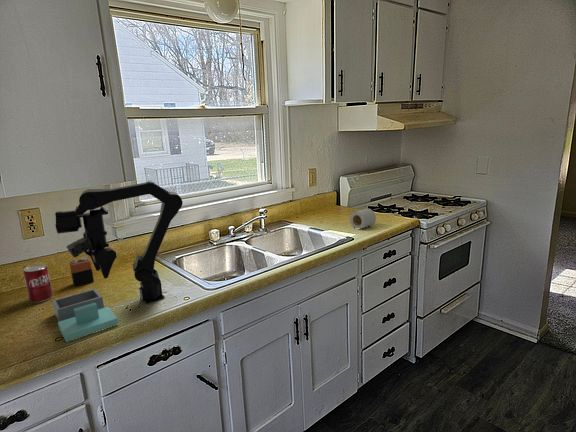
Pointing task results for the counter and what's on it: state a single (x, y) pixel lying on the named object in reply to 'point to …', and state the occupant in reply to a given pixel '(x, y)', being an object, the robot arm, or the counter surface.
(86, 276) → the battery
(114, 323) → the lid
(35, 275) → the soda can
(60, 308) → the tub
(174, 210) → the robot arm
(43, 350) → the counter surface
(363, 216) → the toilet paper
